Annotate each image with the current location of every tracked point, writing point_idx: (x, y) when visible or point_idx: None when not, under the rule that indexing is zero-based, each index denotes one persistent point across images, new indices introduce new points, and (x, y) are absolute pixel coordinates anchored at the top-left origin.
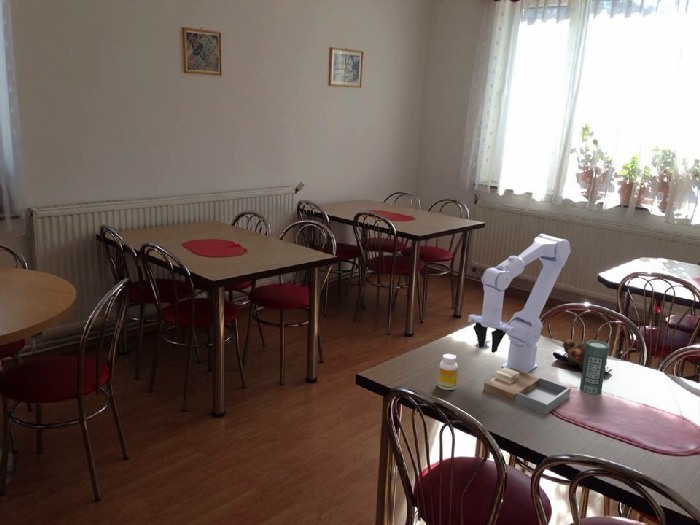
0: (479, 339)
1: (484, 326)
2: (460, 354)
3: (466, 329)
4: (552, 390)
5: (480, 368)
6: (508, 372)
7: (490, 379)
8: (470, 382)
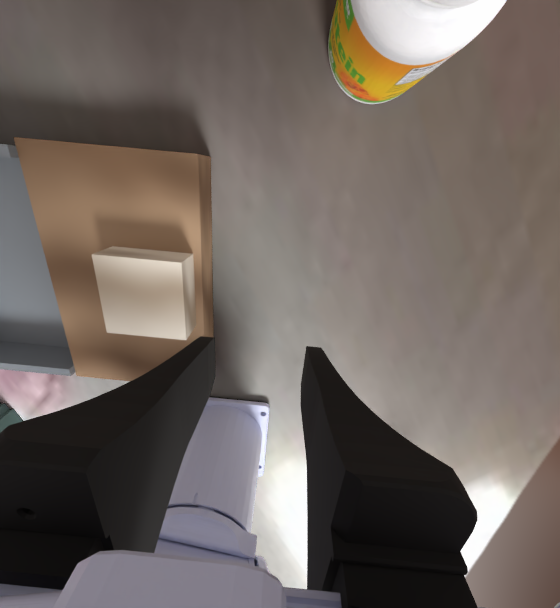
0: (325, 384)
1: (146, 557)
2: (438, 404)
3: (479, 554)
4: (37, 345)
5: (324, 348)
6: (136, 298)
7: (199, 219)
8: (298, 195)
